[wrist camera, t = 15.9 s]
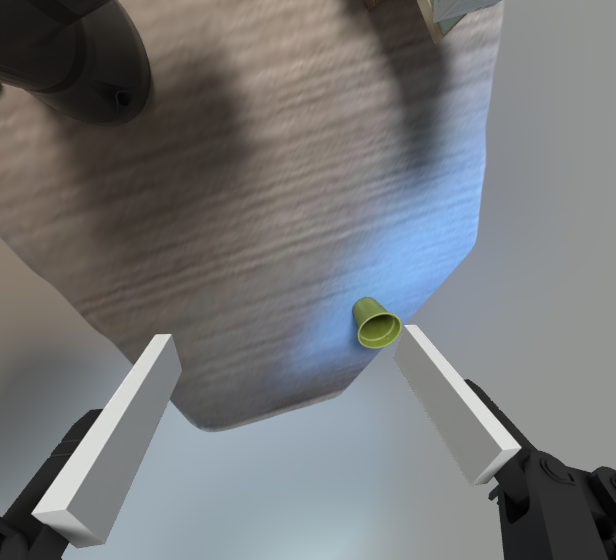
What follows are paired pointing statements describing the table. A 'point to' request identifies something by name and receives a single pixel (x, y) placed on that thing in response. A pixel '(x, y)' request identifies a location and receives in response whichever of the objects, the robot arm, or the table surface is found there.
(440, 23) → the seesaw beam
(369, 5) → the fulcrum stand
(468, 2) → the supplement box
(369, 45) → the table surface
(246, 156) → the table surface
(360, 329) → the plant pot
